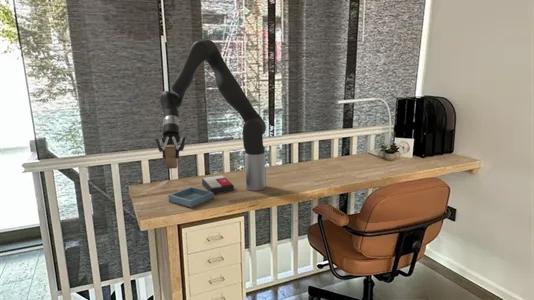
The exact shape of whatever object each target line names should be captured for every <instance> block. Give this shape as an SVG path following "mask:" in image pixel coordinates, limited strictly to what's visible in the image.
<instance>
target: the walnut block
mask: <svg viewBox="0 0 534 300" xmlns="http://www.w3.org/2000/svg"><path fill="white" fill-rule="evenodd" d="M165 156H166V160H165V168H166V169H167V170H169V169H177V168H178V159H176V145H165Z"/></svg>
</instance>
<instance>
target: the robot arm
mask: <svg viewBox="0 0 534 300" xmlns="http://www.w3.org/2000/svg"><path fill="white" fill-rule="evenodd" d="M203 62H207V64H208V65H209V66H210V68H211V69H212V71H213V74H214V79H215V83H216V86H217V90H218V91H219V93H220V95H221V96H222V97H223V99H224V100H225V101H226V103H228V105H230V107H232V109H234V110H235V111H236V112H237V113H238V114H239V115H240V117H241V119H242V120H243V123H244V124H243V126H242V142H243V149H244V160H245V161H244V162H245V163H244V164H245V165H244V170H245V189H246V190H249V191H253V192H254V191H262V190H264V189H266V187H267V168H266V156H265V155H266V151H265V149H266V147H265V146H264V138H263V136H264V134H265V132H266V131H267V125H266V122H265V121H264V119H263V118H262V117H261V115H260V114H259V113H258V112H257V111H256V109H255V108H254V107H253V104H251V102H250V100H249V98H248V96H247V95H246V93H245V92H244V91H243V89H242V87H241V85H240V84H239V82H238V80H237V79H236V78H235V76H234V75H233V73H232V72H231V70H230V69H229V68H230V67H228V65H227V64H226V61H225V60H224V58H223V56H222V54H221V52H220V50H219V49H218V47H217V45H216V43H215V42H214V41H212V40H211V39H208V38H207V39H200V40H196V41H194V42H193V44H192V45H191V47H190V50H189V52H188V55H187V58H186V59H185V61H184V64H183V67H182V68H181V70H180V72H179V73H178V74H177V76H176V78H175V79H174V81H173V82H172V84H171V90H172V91H173V92H171V91H168V90H164V91H162V93H161V94H160V97H159V103H160V106H161V109H162V112H163V121H162V137H161V138H160V139H159V138H155V142H156V143H155V144H156V146H157V150H158V152H159V153H162V158H163V159H164V160H165V161H166V156H165V145H176V159H177V160H178V159H179V158H180V152H183V151H184V149H185V146H186V142H187V138H186V137H181V135H180V121H179V117H180V116H179V115H180V113H179V110H178V109H179V108H180V107H181V106H182V103H183V100H184V96H185V94H186V92H187V91H188V89H189V87H190V86H191V84H192V82H193V79H194V76H195V73H196V71H197V69H198V67H199V66H200V65H201V64H202V63H203ZM179 142H180V146H178V144H179ZM162 143H163V147H162V146H161V144H162Z"/></svg>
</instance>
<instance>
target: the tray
mask: <svg viewBox="0 0 534 300" xmlns="http://www.w3.org/2000/svg"><path fill="white" fill-rule="evenodd" d="M213 199H214V194H213V192H210V191H208V190H207V189H202V188H198V187H195V186H190V187H187V188H184V189H181V190H178V191H175V192H173V193H170V194H168V202H169V203H173V204H176V205H179V204H180V206H182V205H184V206H183V207H185V206H187V207H186V208H188V207H193V206H195V207H197V206H199V205H198V204H200V205H202V204H204V203H206V201H207V202H209V201H212V200H213ZM201 203H202V204H201ZM196 205H197V206H196ZM193 208H194V207H193Z"/></svg>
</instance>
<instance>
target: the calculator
mask: <svg viewBox="0 0 534 300" xmlns="http://www.w3.org/2000/svg"><path fill="white" fill-rule="evenodd" d="M201 182H202V183H201V185H202V186H203V188H205V190H207V191H210V192H213V195H216V194H221V193H222V194H223V193H228V192H234V190H235V186H234V184H233V183H232V182H231V181H230V180H229V179H228V178H227V177H226V176H225V175H217V176H209V177H202V178H201Z"/></svg>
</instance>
